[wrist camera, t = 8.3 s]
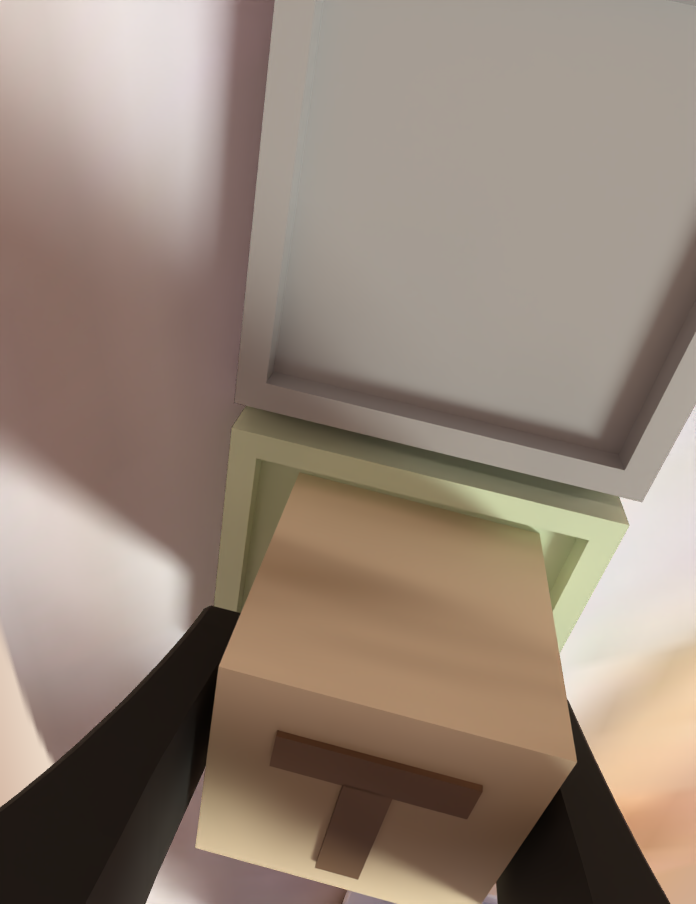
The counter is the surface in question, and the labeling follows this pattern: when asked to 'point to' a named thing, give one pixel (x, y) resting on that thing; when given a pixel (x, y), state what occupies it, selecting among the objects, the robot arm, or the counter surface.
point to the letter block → (388, 700)
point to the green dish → (412, 478)
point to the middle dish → (480, 230)
